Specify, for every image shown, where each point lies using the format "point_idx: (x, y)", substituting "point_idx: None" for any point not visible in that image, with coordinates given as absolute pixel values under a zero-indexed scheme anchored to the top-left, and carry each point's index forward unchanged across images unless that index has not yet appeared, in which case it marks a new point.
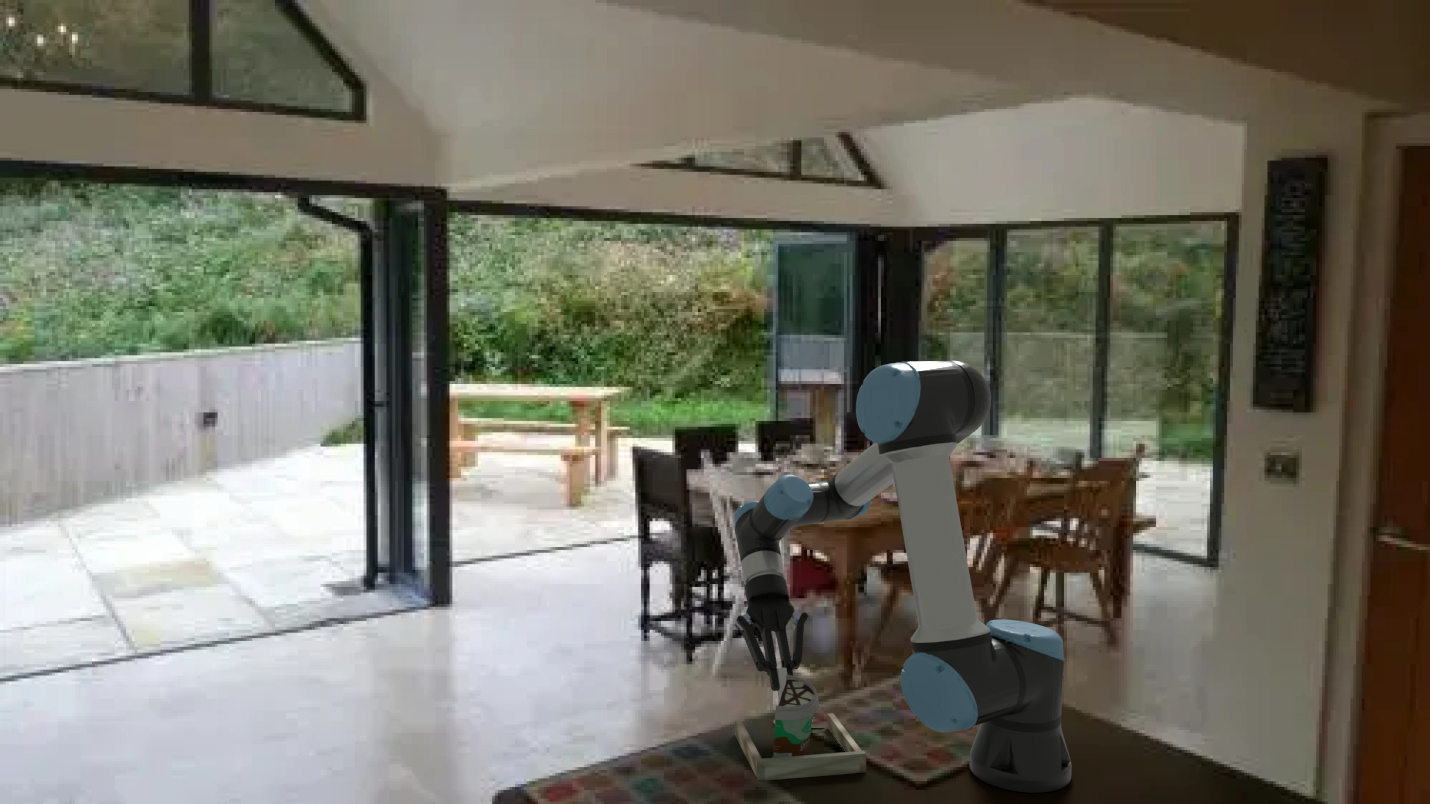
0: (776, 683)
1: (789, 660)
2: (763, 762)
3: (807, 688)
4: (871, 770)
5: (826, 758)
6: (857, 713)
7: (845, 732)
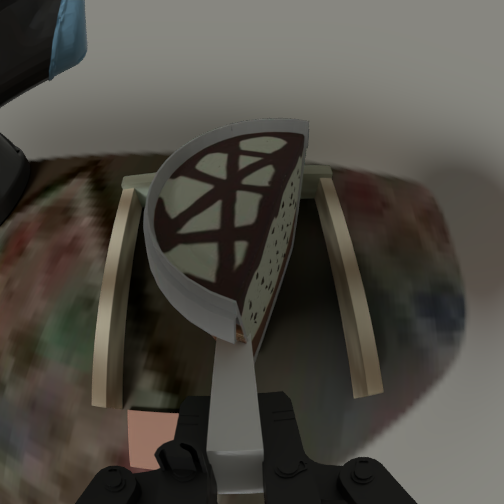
0: (271, 406)
1: (170, 490)
2: (320, 166)
3: (165, 230)
4: None
5: None
6: (44, 459)
7: (106, 282)
